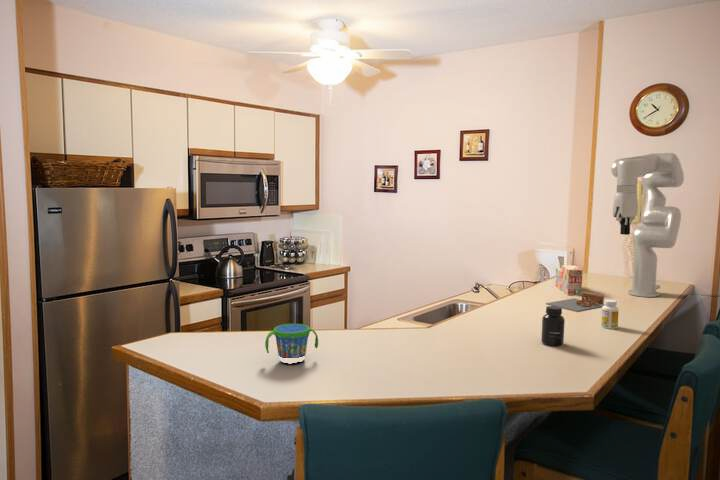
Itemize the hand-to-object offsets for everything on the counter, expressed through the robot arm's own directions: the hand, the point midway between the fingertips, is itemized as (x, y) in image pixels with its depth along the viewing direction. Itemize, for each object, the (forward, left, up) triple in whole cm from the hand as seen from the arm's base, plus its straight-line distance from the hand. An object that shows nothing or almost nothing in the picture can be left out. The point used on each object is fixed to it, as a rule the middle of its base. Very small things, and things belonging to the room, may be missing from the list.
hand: (625, 234), depth 222 cm
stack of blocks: (-6, -32, -31) cm, 45 cm away
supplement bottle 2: (+33, +18, -30) cm, 49 cm away
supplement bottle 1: (+66, +21, -30) cm, 76 cm away
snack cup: (+146, -6, -30) cm, 149 cm away
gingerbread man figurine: (+5, -10, -28) cm, 30 cm away
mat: (+15, -11, -30) cm, 36 cm away
